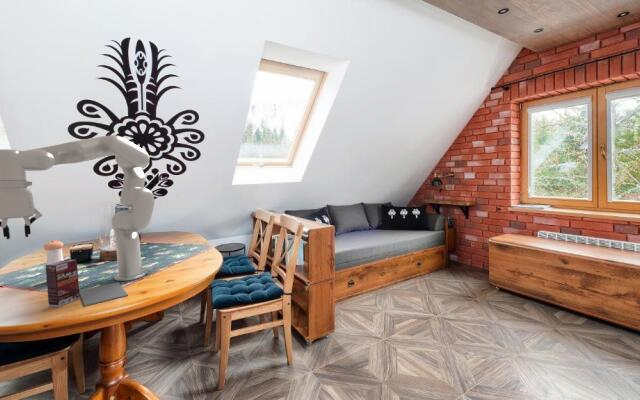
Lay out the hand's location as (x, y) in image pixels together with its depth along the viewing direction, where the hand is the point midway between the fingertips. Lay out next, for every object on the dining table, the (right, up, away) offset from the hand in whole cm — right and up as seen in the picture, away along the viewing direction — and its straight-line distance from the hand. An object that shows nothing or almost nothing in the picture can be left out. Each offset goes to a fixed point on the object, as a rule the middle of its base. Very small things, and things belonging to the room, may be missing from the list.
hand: (17, 237), depth 109 cm
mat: (+17, -25, +18) cm, 36 cm away
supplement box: (+9, -27, +10) cm, 30 cm away
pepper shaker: (-15, -25, +34) cm, 45 cm away
